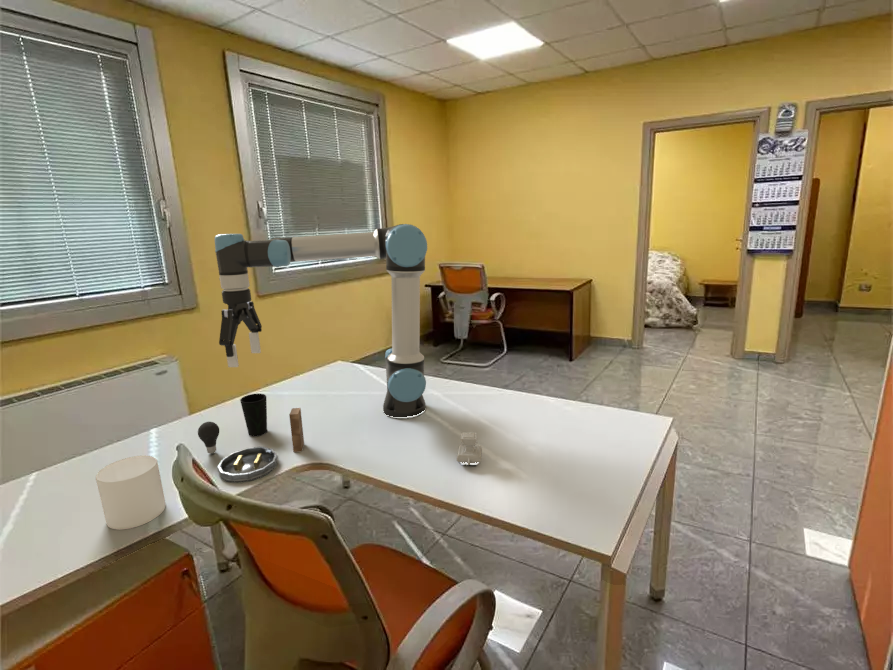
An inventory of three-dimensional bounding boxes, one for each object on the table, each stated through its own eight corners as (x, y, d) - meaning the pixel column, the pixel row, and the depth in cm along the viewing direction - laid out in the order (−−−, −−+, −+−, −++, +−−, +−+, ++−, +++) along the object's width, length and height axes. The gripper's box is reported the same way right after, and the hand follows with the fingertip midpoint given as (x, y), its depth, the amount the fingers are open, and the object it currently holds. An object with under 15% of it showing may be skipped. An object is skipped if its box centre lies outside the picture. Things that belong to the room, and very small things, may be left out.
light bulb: (227, 450, 136) (222, 419, 133) (212, 459, 131) (206, 427, 128) (212, 447, 138) (207, 417, 135) (197, 456, 132) (191, 425, 130)
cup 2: (261, 438, 143) (256, 403, 140) (239, 437, 144) (234, 401, 141) (275, 428, 150) (271, 394, 147) (254, 426, 151) (250, 392, 148)
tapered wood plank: (304, 444, 139) (300, 407, 136) (301, 451, 134) (297, 413, 131) (296, 444, 138) (292, 408, 135) (293, 452, 134) (289, 414, 131)
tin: (282, 451, 134) (281, 443, 134) (270, 479, 120) (269, 470, 119) (229, 456, 132) (227, 448, 132) (210, 485, 118) (209, 476, 117)
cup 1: (140, 495, 114) (131, 452, 111) (177, 503, 111) (169, 458, 108) (93, 525, 103) (82, 478, 100) (132, 534, 100) (122, 486, 97)
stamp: (481, 471, 122) (481, 443, 120) (456, 470, 123) (456, 442, 121) (481, 454, 131) (482, 428, 129) (459, 454, 132) (458, 427, 129)
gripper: (244, 282, 142) (253, 347, 148) (197, 296, 118) (209, 373, 124) (267, 282, 142) (275, 347, 147) (224, 296, 118) (236, 373, 123)
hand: (245, 359), depth 135 cm, fingers open, 13 cm apart
